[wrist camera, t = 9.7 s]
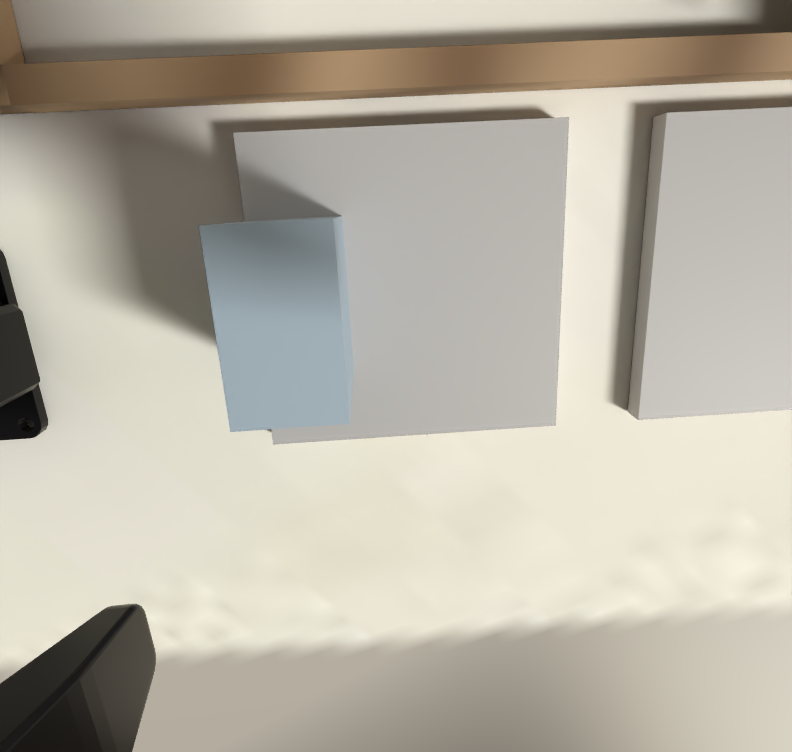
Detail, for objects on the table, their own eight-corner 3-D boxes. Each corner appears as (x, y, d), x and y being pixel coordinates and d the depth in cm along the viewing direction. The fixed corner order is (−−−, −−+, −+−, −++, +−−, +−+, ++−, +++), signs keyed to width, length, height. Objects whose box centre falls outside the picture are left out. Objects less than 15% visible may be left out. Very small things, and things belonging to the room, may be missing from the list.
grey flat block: (276, 435, 19) (244, 518, 14) (239, 136, 16) (179, 101, 11) (962, 389, 20) (1169, 451, 15) (1045, 98, 17) (1338, 50, 12)
